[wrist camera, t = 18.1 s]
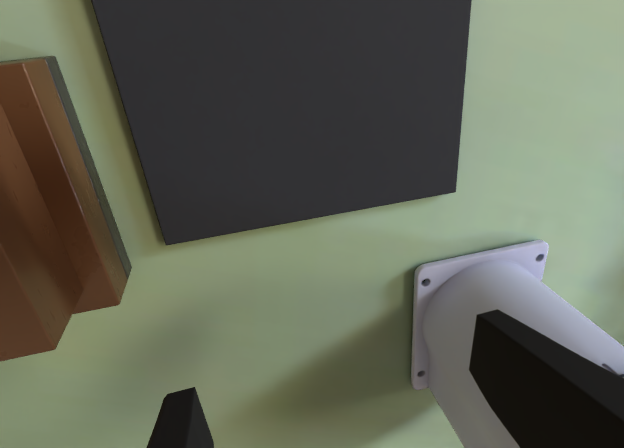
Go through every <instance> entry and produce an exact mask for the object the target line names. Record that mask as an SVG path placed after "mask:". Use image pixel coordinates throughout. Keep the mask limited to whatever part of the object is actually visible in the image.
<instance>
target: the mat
mask: <svg viewBox="0 0 624 448" xmlns="http://www.w3.org/2000/svg"><path fill="white" fill-rule="evenodd" d="M91 1H92V4H93V8H94V11H95V14H96V17H97V21H98V24H99V27H100V30H101V34H102V37H103V40H104V44H105V47H106V50H107V53H108V57H109V60H110V63H111V67H112V70H113V73H114V76H115V80H116V83H117V86H118V89H119V93H120V96H121V99H122V103H123V106H124V109H125V112H126V116H127V119H128V122H129V126H130V129H131V132H132V135H133V139H134V142H135V145H136V148H137V152H138V155H139V158H140V162H141V165H142V168H143V171H144V175H145V178H146V181H147V185H148V188H149V191H150V194H151V198H152V201H153V204H154V207H155V211H156V214H157V217H158V221H159V224H160V227H161V230H162V234H163V237H164V240H165V244H166V245H171V244H176V243H182V242H187V241H193V240H198V239H204V238H209V237H214V236H220V235H225V234H231V233H236V232H242V231H247V230H252V229H258V228H263V227H269V226H274V225H280V224H285V223H290V222H296V221H301V220H307V219H312V218H318V217H323V216H328V215H334V214H339V213H345V212H350V211H356V210H361V209H366V208H372V207H377V206H383V205H388V204H394V203H399V202H404V201H410V200H415V199H421V198H426V197H432V196H437V195H442V194H448V193H453V192H456V182H457V170H458V157H459V145H460V133H461V121H462V109H463V96H464V84H465V72H466V60H467V48H468V35H469V23H470V11H471V0H91Z"/></svg>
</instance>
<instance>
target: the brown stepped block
mask: <svg viewBox="0 0 624 448" xmlns="http://www.w3.org/2000/svg"><path fill="white" fill-rule="evenodd" d="M131 268H132V267H131V264H130V261H129V258H128V256H127V253H126V250H125V247H124V245H123V242H122V239H121V236H120V234H119V231H118V228H117V225H116V223H115V220H114V217H113V214H112V211H111V209H110V206H109V203H108V200H107V198H106V195H105V192H104V189H103V187H102V184H101V181H100V178H99V176H98V173H97V170H96V167H95V165H94V162H93V159H92V156H91V153H90V151H89V148H88V145H87V142H86V140H85V137H84V134H83V131H82V129H81V126H80V123H79V120H78V118H77V115H76V112H75V109H74V107H73V104H72V101H71V98H70V95H69V93H68V90H67V87H66V84H65V82H64V79H63V76H62V73H61V71H60V68H59V65H58V62H57V60H56V57H55V56H47V57H38V58H29V59H20V60H11V61H2V62H0V361H4V360H9V359H14V358H18V357H23V356H28V355H32V354H37V353H42V352H46V351H51V350H55V349H56V347H57V345H58V343H59V341H60V339H61V336H62V334H63V332H64V330H65V328H66V326H67V324H68V322H69V320H70V318H71V316H72V314H76V313H81V312H86V311H91V310H96V309H101V308H106V307H111V306H116V305H119V304H120V302H121V299H122V296H123V293H124V289H125V286H126V283H127V280H128V278H129V274H130V271H131Z"/></svg>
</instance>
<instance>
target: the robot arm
mask: <svg viewBox="0 0 624 448" xmlns="http://www.w3.org/2000/svg"><path fill="white" fill-rule="evenodd" d="M548 249H549V245H548V243H546V242H545V241H543V240H535V241H530V242H526V243H521V244H516V245H511V246H507V247H502V248H497V249H492V250H488V251H483V252H478V253H473V254H469V255H464V256H459V257H454V258H450V259H445V260H440V261H435V262H431V263H426V264H422V265H420V266H419V267H417V269H416V270H415V275H414V305H413V335H412V365H411V384H412V386H413V388H414V389H416V390H421V389H425V388H430V390H431V392H432V394H433V395H434V397H435V399H436V400H437V402H438V404H439V405H440V407H441V409H442V410H443V412H444V414H445V416H446V417H447V419H448V421H449V422H450V424H451V426H452V427H453V429H454V431H455V432H456V434H457V436H458V437H459V439H460V441H461V443H462V444H463V446H464V448H624V346H622V345H621V344H620V343H618V342H617V341H616V340H615V339H613V338H612V337H611V336H610V335H608V334H607V333H606V332H605V331H603V330H602V329H601V328H599V327H598V326H597V325H596V324H594V323H593V322H592V321H591V320H589V319H588V318H587V317H586V316H584V315H583V314H582V313H580V312H579V311H578V310H577V309H575V308H574V307H573V306H572V305H570V304H569V303H568V302H567V301H565V300H564V299H563V298H561V297H560V296H559V295H558V294H556V293H555V292H554V291H553V290H551V289H550V288H549V287H548V286H546V285H545V284H544V283H542V282H541V281H542V277H543V272H544V267H545V263H546V258H547V253H548ZM424 279H426V281H425V282H422V281H423V280H424ZM147 448H214V444H213V439H212V436H211V433H210V430H209V427H208V425H207V422H206V419H205V416H204V413H203V410H202V407H201V404H200V401H199V398H198V395H197V392H196V389H195V387H193V388H189V389H185V390H181V391H177V392H174V393H170V394H167V395H166V397H165V398H164V400H163V403H162V406H161V409H160V412H159V415H158V418H157V421H156V424H155V426H154V429H153V432H152V435H151V437H150V440H149V443H148V445H147Z"/></svg>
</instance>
